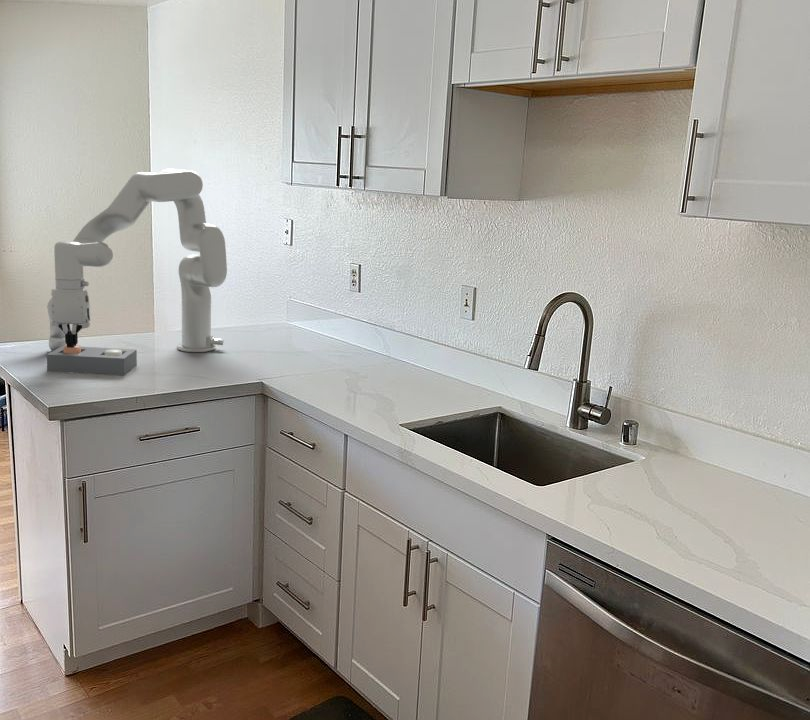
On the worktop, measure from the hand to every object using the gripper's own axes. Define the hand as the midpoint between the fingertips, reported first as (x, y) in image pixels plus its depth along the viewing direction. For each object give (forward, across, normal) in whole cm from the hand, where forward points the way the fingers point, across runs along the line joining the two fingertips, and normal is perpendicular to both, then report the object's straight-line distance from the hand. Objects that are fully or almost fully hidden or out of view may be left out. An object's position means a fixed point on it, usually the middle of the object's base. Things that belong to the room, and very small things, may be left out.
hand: (71, 346), depth 233 cm
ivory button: (+6, -12, 0) cm, 13 cm away
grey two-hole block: (+6, -6, 0) cm, 9 cm away
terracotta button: (+5, 0, 0) cm, 5 cm away
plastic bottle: (+7, +11, -19) cm, 23 cm away
